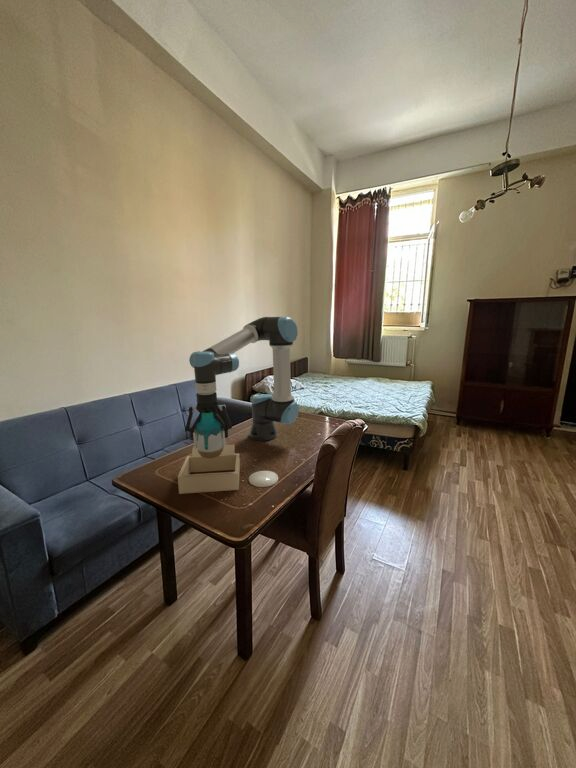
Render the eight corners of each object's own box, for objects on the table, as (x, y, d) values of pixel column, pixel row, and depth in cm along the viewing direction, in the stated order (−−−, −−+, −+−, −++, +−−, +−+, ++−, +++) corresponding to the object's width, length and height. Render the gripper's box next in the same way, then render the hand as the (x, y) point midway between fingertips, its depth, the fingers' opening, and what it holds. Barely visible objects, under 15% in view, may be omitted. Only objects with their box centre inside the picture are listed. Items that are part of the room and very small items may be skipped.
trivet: (248, 472, 133) (248, 471, 133) (276, 471, 134) (276, 469, 134) (248, 488, 121) (248, 486, 121) (279, 486, 123) (279, 484, 123)
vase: (229, 452, 128) (226, 408, 124) (215, 464, 119) (212, 416, 114) (207, 449, 132) (203, 405, 127) (191, 460, 122) (187, 413, 118)
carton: (189, 467, 138) (187, 446, 136) (240, 464, 141) (239, 444, 139) (176, 499, 114) (174, 475, 112) (238, 495, 116) (237, 471, 114)
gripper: (173, 396, 114) (178, 452, 119) (236, 393, 117) (239, 448, 122) (177, 391, 121) (182, 443, 127) (237, 388, 124) (239, 440, 129)
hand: (210, 446), depth 124 cm, fingers closed on vase, 10 cm apart
